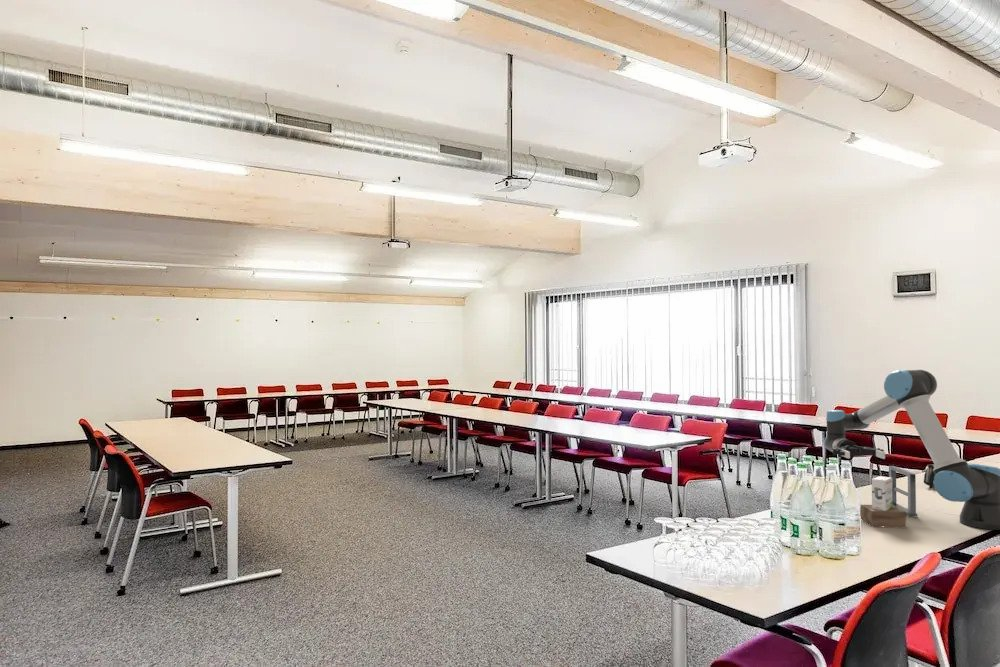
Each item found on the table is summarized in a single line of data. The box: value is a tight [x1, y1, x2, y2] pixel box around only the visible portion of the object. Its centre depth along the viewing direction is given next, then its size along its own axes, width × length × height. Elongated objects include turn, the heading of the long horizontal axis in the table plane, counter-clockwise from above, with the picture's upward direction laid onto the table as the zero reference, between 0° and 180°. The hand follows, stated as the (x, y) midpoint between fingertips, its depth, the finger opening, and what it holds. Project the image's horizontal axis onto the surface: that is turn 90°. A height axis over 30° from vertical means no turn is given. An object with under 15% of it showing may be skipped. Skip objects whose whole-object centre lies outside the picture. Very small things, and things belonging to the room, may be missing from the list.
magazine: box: [923, 464, 935, 488], centre depth 316 cm, size 17×3×30 cm
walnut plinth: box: [860, 504, 907, 528], centre depth 248 cm, size 10×12×6 cm
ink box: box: [871, 475, 892, 511], centre depth 248 cm, size 9×5×12 cm, turn 132°
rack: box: [888, 465, 918, 517], centre depth 267 cm, size 18×3×17 cm, turn 173°
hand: (866, 455), depth 261 cm, fingers open, 13 cm apart
